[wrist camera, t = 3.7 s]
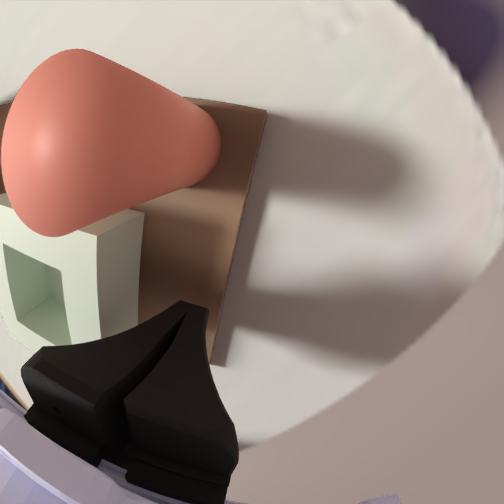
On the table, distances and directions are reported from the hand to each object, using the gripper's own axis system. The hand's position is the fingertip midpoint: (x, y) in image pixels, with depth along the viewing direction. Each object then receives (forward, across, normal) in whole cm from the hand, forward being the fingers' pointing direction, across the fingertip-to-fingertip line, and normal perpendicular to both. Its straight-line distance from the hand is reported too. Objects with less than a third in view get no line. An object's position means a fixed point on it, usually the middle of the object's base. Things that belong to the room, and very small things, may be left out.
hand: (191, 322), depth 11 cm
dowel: (+1, +2, -7) cm, 7 cm away
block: (+1, +7, 0) cm, 7 cm away
